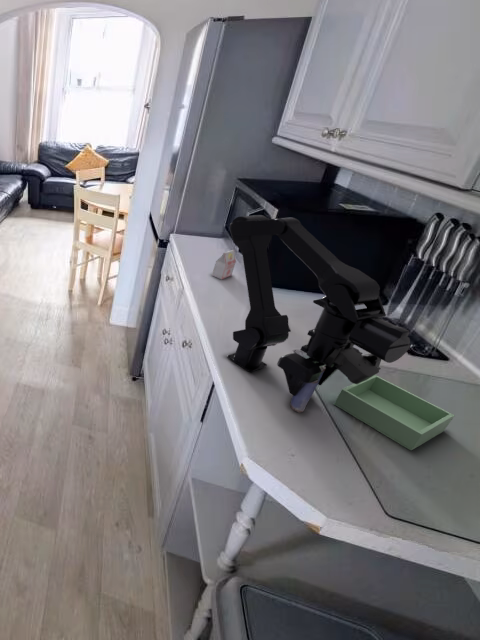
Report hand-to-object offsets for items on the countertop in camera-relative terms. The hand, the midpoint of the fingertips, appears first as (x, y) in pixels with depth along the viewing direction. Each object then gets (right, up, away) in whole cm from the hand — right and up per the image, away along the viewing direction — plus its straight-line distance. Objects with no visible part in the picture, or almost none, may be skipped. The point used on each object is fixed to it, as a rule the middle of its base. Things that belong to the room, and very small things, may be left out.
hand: (305, 389), depth 88 cm
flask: (0, -4, +1) cm, 4 cm away
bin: (+16, -5, -3) cm, 17 cm away
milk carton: (+20, +23, +60) cm, 67 cm away
